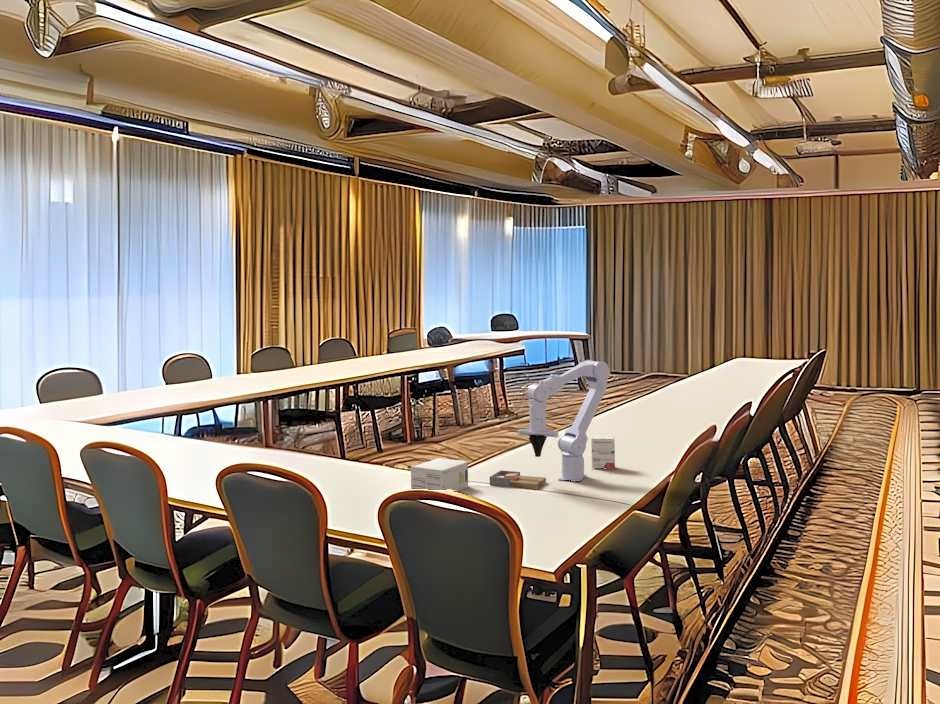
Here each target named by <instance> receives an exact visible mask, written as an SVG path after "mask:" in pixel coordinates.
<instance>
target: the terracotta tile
mask: <svg viewBox="0 0 940 704" xmlns="http://www.w3.org/2000/svg"><path fill="white" fill-rule="evenodd" d="M504 478H510V480H516V479H517V478H519V475H518V473H511V474H507V475H505V476H504Z"/></svg>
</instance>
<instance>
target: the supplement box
mask: <svg viewBox="0 0 940 704" xmlns="http://www.w3.org/2000/svg"><path fill="white" fill-rule="evenodd" d="M466 486H468V487H469V462H468V461H466V460H459V459H458V460H457V459H449V458H443V457H442V458H441V457H437V458H435V459H431V460H428V461H426V462H423V463H419V464H415V465H413V466H412V465H411V466H410V490H411V489H428V490H447V489H452V490H458V491H460V490H463V489H466V488H467V487H466ZM465 487H466V488H465Z"/></svg>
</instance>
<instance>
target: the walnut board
mask: <svg viewBox="0 0 940 704" xmlns="http://www.w3.org/2000/svg"><path fill="white" fill-rule="evenodd" d="M546 483H547V478H546V477H542V476H541V477H540V476H528V475H520V476H519V478H517V479H516V480H512V481H510V487H509V488H518V489H530V490H537V489H539V488H541V487H542V486H544V485H545V484H546ZM543 484H544V485H543ZM540 486H541V487H540Z"/></svg>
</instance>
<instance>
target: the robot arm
mask: <svg viewBox="0 0 940 704" xmlns="http://www.w3.org/2000/svg"><path fill="white" fill-rule="evenodd" d="M610 375H611V370H610V368H609V365H608V364H607V363H606V362H605V361H597V360H596V361H595V360H591V359H585V360H584V361H581V362H579V363H578V364H577V365H575V366H574V367H573V368H570V369H569V370H566V371H565V372H564V373H562V374H560V375H559V374H553V373H552V374H550V375H548V376H549V377H547V378H545V379H543V380H538V383H532V384H530V385H528V387H527V390H526V391H525V395H526V397H527V398H528V404H529V408H528V409H529V428H519V429H517V436H529V438H528V440H529V442H530V444H531V445H532V449H533V453H534V456H535V458H536V457H537V458H541V456H542V451H543V447H544V445H545V443H546V440H547V438H558V440H557V447H558V449H559V450H560V451H561V452H560V453H561V476H560V477H558V479H557V480H558V481H564V480H569V481H568V482H576V481H580V480H581V481H582V480H584V479H585V478H586V477H587V474H585V458H584V456H583V454H584V453H585V451H586V448H587V442H588V438H589V437H588V436H587V434H586V433H587V432H588V429H589V426H590V425H591V423H592V421H593V419H594V416H595V414H596V412H597V410H598V408H599V407H600V403H601V402H602V399H603V398H604V395H605V393H606V392H607V389H608V388H607V387H608V379H609V376H610ZM581 377H583V378H584V379H585V380H586V381H587V383H588V385H589V390H588V392H587V394H586V396H585V398H584V400H583V402H582V404H581V406H580V408H579V411H578V413H577V415H576V416H575V419H574V421H573V423H572V425H571V426H570V427H568V428H567V429H565V431H564V433H563V434H562V435H561V436H560V437H559V431H558V430H549V429H547V417H546V416H547V411H546V409H547V405H546V404H547V402H546V401H547V400H548V399H549V397H550V396H551V395H553V394H555V393H557V392H559V391H561V390H563V389H564V386H565V384H568V383H570V382H572V381H574V380H576V379H579V378H581ZM584 477H585V478H584ZM583 478H584V479H583ZM570 480H571V481H570ZM581 481H580V482H581Z"/></svg>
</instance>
